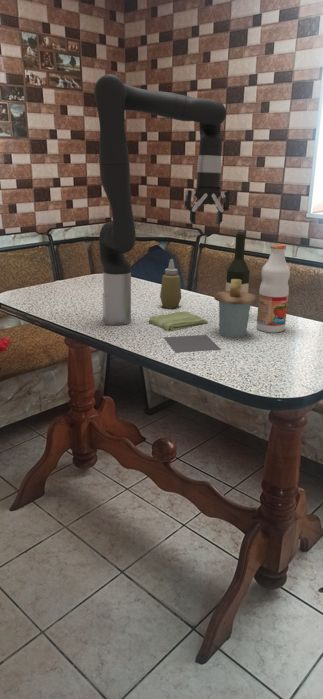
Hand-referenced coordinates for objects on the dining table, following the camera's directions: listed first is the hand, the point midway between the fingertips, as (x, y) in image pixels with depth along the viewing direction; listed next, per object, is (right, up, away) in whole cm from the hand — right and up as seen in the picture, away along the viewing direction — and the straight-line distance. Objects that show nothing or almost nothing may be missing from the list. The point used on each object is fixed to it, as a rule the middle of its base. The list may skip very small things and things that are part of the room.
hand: (205, 223), depth 171 cm
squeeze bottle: (-11, -25, +30) cm, 40 cm away
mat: (-5, -40, -12) cm, 41 cm away
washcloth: (-9, -33, +9) cm, 35 cm away
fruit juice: (+22, -34, +6) cm, 41 cm away
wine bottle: (+12, -29, +20) cm, 37 cm away
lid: (+9, -25, -6) cm, 27 cm away
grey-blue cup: (+8, -36, -2) cm, 37 cm away
